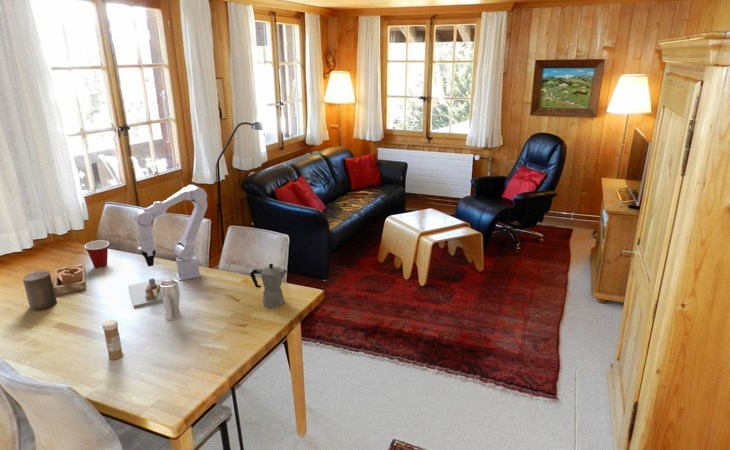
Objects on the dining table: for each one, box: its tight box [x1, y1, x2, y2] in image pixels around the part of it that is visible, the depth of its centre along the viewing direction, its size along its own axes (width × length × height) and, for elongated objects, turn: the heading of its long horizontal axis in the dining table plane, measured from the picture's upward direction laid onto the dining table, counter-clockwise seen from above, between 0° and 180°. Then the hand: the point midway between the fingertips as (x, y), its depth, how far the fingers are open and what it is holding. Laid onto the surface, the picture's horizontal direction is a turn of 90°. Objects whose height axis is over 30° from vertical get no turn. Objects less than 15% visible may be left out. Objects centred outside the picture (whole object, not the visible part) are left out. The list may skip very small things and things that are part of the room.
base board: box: [128, 276, 173, 309], centre depth 215 cm, size 18×22×6 cm
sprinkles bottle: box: [101, 319, 124, 361], centre depth 167 cm, size 5×5×14 cm
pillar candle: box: [22, 270, 58, 311], centre depth 203 cm, size 10×10×15 cm
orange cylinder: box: [57, 267, 83, 286], centre depth 225 cm, size 18×8×7 cm, turn 46°
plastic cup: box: [84, 239, 110, 269], centre depth 242 cm, size 11×11×12 cm
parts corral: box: [53, 264, 87, 296], centre depth 226 cm, size 12×23×4 cm, turn 29°
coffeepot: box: [249, 263, 288, 309], centre depth 204 cm, size 15×9×18 cm, turn 92°
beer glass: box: [160, 279, 182, 322], centre depth 193 cm, size 7×7×15 cm
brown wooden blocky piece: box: [145, 284, 160, 299], centre depth 212 cm, size 11×5×4 cm, turn 13°
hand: (150, 265), depth 220 cm, fingers closed
